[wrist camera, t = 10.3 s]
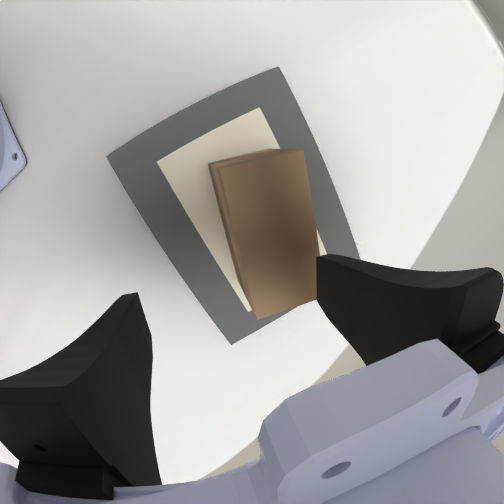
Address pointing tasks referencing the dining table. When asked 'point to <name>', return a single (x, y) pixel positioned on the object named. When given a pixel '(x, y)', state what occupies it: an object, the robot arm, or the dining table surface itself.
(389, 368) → the robot arm
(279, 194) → the card box
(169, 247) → the picture frame
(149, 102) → the dining table surface
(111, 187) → the dining table surface
